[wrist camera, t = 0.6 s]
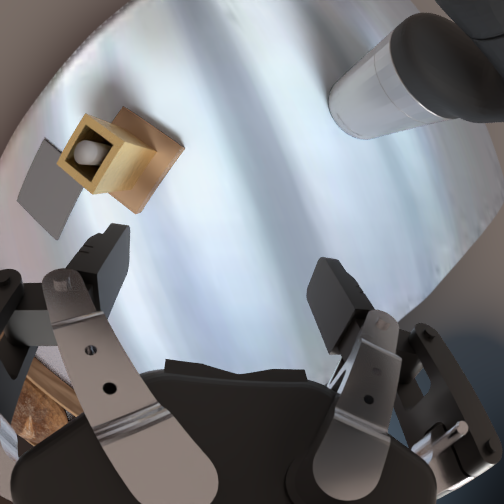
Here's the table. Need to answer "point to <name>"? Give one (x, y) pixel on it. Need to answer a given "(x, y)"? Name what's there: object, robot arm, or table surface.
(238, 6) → the table surface
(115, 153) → the sleeve
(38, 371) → the bread tray
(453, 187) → the table surface
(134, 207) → the peg stand
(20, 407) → the bread
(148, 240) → the table surface
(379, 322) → the robot arm
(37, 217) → the mat
